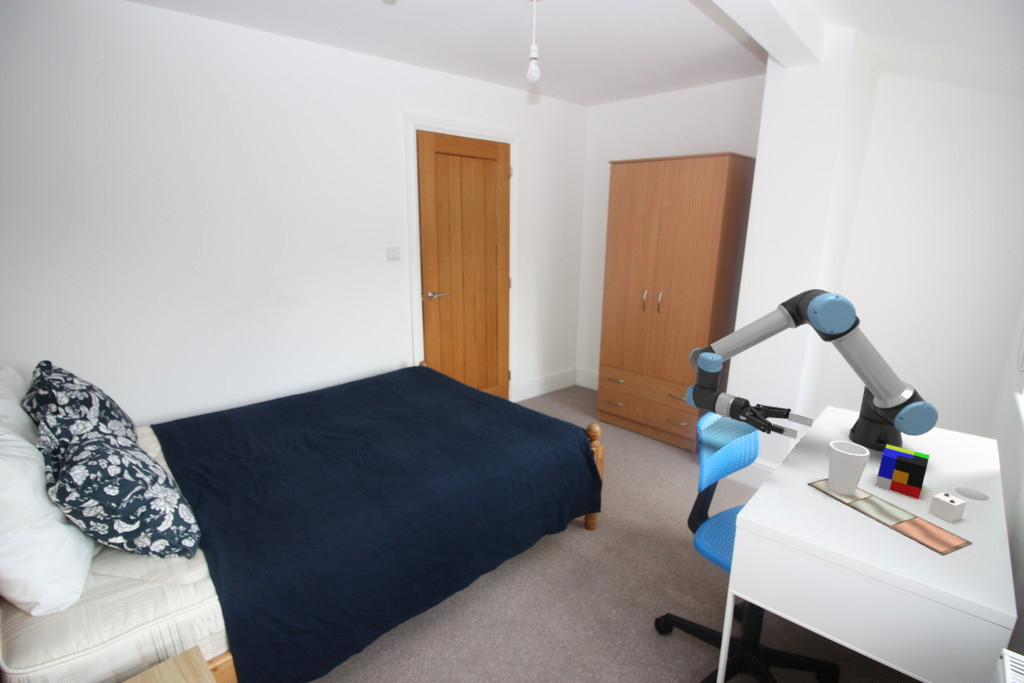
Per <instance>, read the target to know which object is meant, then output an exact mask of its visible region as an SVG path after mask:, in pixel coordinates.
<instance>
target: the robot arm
mask: <svg viewBox="0 0 1024 683" xmlns="http://www.w3.org/2000/svg"><path fill="white" fill-rule="evenodd" d="M856 311H857V310H856V308H855V306H854V304H853V303H852V302H851V300H849V299H848V298H847V297H845V296H843V295H841V294H839V293H834V292H829V291H826V290H824V289H820V288H819V289H818V288H816V289H808V290H804V291H802V292H801V293H798V294H796V295H794V296H792V297H790V298H789V299H787V300H784V301H783V302H781V303H779V304H778V305H777V308H776V309H775V310H772V311H770V312H769V313H767V314H765V315H763V316H762V317H759V318H758V319H756V320H754V321H752V322H750V323H749V324H748V323H747V325H744V326H742V327H741V328H739V329H736V330H735V331H733V332H731V333H730V334H728V335H725V336H724V337H722V338H720V339H719V340H716V341H715V342H713V343H711V344H709V345H707V346H705V347H696V348H694V349H692V351H691V352H690V354H689V357H688V358H689V362H690V365H691V367H692V368H693V370H694V371H695V373H696V375H695V383H694V384H690V386H688V388H687V390H686V393H685V397H684V398H685V402H686V404H687V405H689V406H691V407H693V408H696V409H697V410H702V411H705V412H707V413H708V412H709V413H712V414H714V415H715V414H716V415H719V416H721V417H722V418H730V419H732V420H734V421H737V422H743V423H745V424H747V425H749V426H751V427H752V428H755V429H757V431H760V432H761V433H764V434H765V433H766V434H768V435H771V434H772V433H775V434H778V435H781V436H785V437H788V438H790V439H794V440H797V436H798V432H799V430H798V429H796V428H794V427H791V426H787V425H783V424H780V423H777V422H771V421H769V420H768V419H769V418H770V419H781V420H783V419H784V420H787V421H789V422H792V423H796V424H799V425H801V426H802V425H803V426H806V427H810V428H811V427H813V422H814V418H813V417H810V416H806V415H803V414H800V413H796V412H793V411H792V409H791V408H789V407H788V408H786V407H778V406H771V405H765V404H760V403H756V405H754V406H753V405H751V402H750V400H749V399H747V398H743V397H740V396H736V395H734V394H730V393H726V392H722V391H719V389H720V388H719V386H720V380H721V374H722V370H723V362H725V361H728V360H729V359H732V358H733V357H736V356H737V355H739V354H741V353H743V352H745V351H747V350H749V349H751V348H752V347H755V346H757V345H759V344H760V343H761V344H762V342H763V343H764V342H765V341H767V340H769V339H771V338H772V337H774V336H777V335H778V334H780V333H782V332H784V331H785V330H788V329H793V330H794V329H797V328H798V327H799V328H800V326H804V325H809V326H810V327H811V328H812V329H813V330H814V331H815V333H817V335H818V336H819V338H820V339H821V341H823V342H825V343H831V344H832V345H833V346H834V348H835V349H836V351H837V352H839V354H840V355H841V356H842V358H843V359H844V361H846V363H847V365H849V366H850V368H851V369H852V370H853V371H854V373H855V374H856V375H857V376H858V377H859V379H860V380H861V382H863V384H864V387H863V390H864V391H863V394H862V400H861V405H860V411H859V414H858V418H857V419H856V421H855V422H854V424H853V426H852V427H851V428H850V431H849V434H848V438H849V439H850V440H851V442H853V443H855V444H858V445H860V446H863V447H865V448H867V449H872V450H876V451H881V452H884V450H885V448H886V445H887V444H888V445H892V446H896V447H900V448H903V437H902V436H903V435H902V434H904V435H906V436H914V437H915V436H921V435H925V434H926V433H928V432H930V431H932V430H933V429H934V427H935V426H936V425H937V422H938V420H939V412H938V410H937V409H936V408H937V407H935V406H934V405H933V404H932V403H930V402H928V401H926V400H925V399H924V398H923V397H922V395H920V394H919V392H918V391H917V390H916V389H915V387H914V386H913V385H912V384H911V383H908V382H906V381H902V380H901V378H900V377H899V376H898V375H897V374H896V372H895V371H894V370H893V368H892V367H891V366H890V365H889V363H888V362H887V361H886V360H885V358H884V357H883V356H882V354H880V352H879V351H878V350H877V349H876V347H875V346H874V345H873V343H872V342H871V341H870V339H868V337H867V336H866V334H865V333H864V332H863V331H862V330H861V328H860V325H861V319H860V318H859V317H858V316H857V312H856Z"/></svg>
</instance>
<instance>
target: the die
mask: <svg viewBox="0 0 1024 683" xmlns="http://www.w3.org/2000/svg"><path fill="white" fill-rule="evenodd" d="M966 504H967V501H966V500H963V499H961V498H958V497H956V496H954V495H952V494H949V493H946V492H940V493H937V494H935V495H932V498H931V501H930V505H929V509H928V513H929V514H932V515H934V516H935V517H938V518H940V519H942V520H944V521H946V522H948V523H950V522H951V523H953V522H957V521H959V520H962V519H963V515H964V512H965V508H966ZM961 518H962V519H961ZM956 520H957V521H956Z"/></svg>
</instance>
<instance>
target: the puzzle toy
mask: <svg viewBox="0 0 1024 683" xmlns="http://www.w3.org/2000/svg"><path fill="white" fill-rule="evenodd" d="M882 452H883V453H882V454H881V460H880V464H879V468H878V473H877V478H876V482H875V487H877V486H878V488H881V489H883V490H887V489H888V491H890V490H892V491H891V492H894V491H895V492H894V493H897V492H898V493H897V494H900V493H901V494H900V495H903V494H904V495H903V496H907V497H911V498H914V499H916V500H917V499H918V500H920V496H921V493H922V489H923V484H924V480H925V476H926V471H927V467H928V464H929V459H930V455H929V454H926V453H923V452H918V451H914V450H912V449H907V448H903V447H902V448H900V447H896V446H892V445H888V444H887V445H886V448H885V450H884V451H882Z"/></svg>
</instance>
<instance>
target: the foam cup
mask: <svg viewBox="0 0 1024 683" xmlns="http://www.w3.org/2000/svg"><path fill="white" fill-rule="evenodd" d="M870 454H871V453H870V450H869V448H867V447H865V446H862V445H859V444H857V443H855V442H852V441H851V442H850V441H845V440H833V441H830V442H829V446H828V477H827V478H828V488H829V489H830V490H832V491H833V492H835V493H838V494H841V495H847V496H848V495H853V494H854V492H855V491H856V488H857V487H858V485H859V484H860V481H861V478H862V475H863V473H864V470H865V468H866V466H867V463H868V462H869V458H870Z"/></svg>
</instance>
